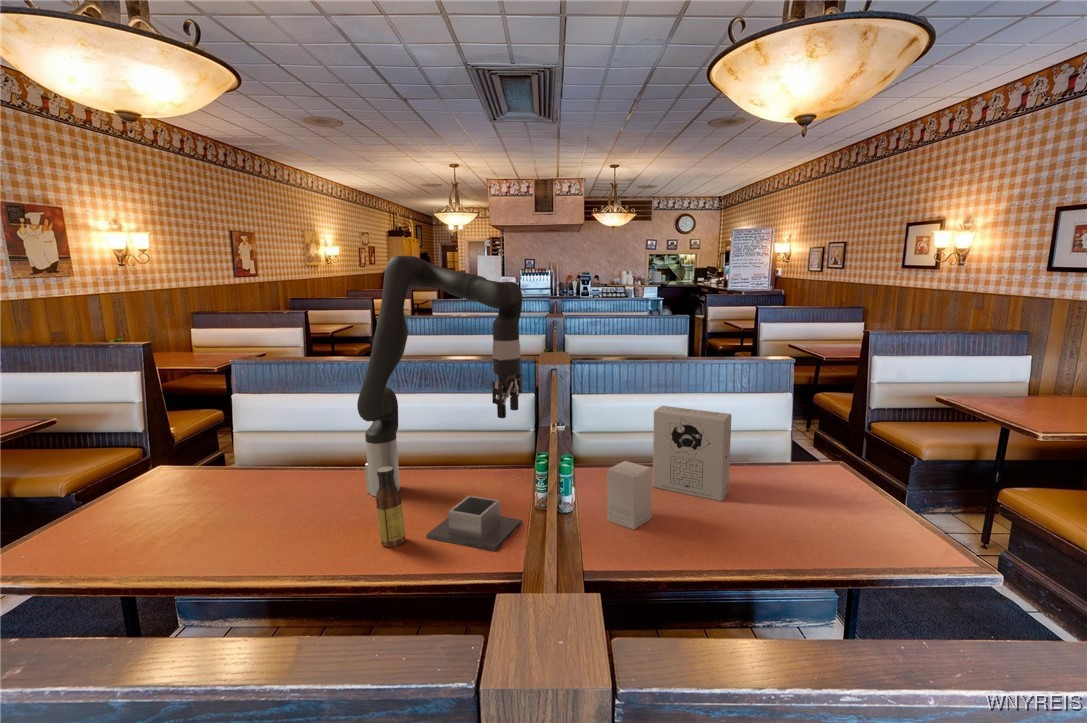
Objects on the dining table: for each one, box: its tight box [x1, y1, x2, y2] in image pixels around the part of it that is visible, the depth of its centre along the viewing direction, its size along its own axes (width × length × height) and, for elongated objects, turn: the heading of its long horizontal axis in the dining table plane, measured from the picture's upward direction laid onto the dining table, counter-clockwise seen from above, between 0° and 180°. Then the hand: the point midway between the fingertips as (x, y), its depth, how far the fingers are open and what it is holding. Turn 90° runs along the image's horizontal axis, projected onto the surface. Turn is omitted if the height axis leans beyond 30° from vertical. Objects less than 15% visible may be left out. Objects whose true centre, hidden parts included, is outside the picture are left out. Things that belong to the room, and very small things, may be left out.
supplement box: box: [606, 460, 653, 531], centre depth 146 cm, size 9×9×15 cm
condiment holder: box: [426, 495, 523, 552], centre depth 142 cm, size 20×16×7 cm
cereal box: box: [652, 405, 732, 502], centre depth 164 cm, size 22×8×25 cm, turn 58°
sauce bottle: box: [375, 466, 406, 548], centre depth 135 cm, size 7×6×20 cm
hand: (508, 413), depth 147 cm, fingers open, 8 cm apart
